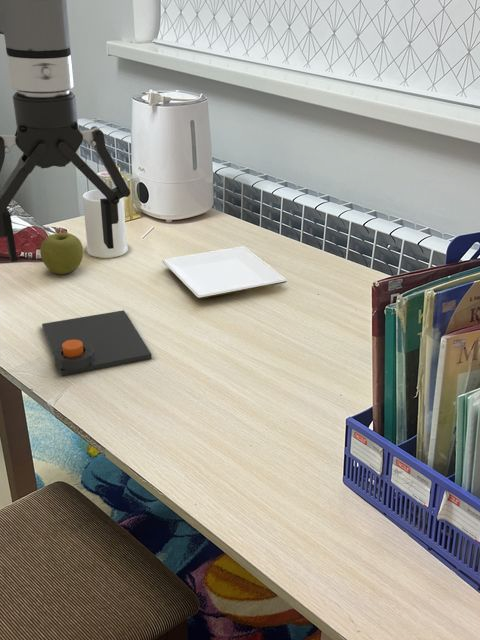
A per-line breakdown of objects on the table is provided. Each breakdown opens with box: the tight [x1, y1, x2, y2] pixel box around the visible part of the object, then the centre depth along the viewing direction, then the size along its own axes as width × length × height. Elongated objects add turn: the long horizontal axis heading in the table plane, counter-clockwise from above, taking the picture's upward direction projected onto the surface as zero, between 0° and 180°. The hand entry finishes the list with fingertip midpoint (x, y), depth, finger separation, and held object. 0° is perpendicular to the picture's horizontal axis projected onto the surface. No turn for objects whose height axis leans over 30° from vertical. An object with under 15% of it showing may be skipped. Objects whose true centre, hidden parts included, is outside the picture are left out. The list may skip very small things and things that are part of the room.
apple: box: [39, 232, 84, 275], centre depth 134 cm, size 8×8×7 cm
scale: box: [41, 309, 152, 377], centre depth 112 cm, size 16×14×2 cm
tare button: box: [62, 340, 83, 357], centre depth 105 cm, size 3×3×2 cm
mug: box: [82, 188, 129, 259], centre depth 144 cm, size 12×8×12 cm
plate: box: [161, 245, 288, 300], centre depth 135 cm, size 19×19×2 cm
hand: (62, 251), depth 97 cm, fingers open, 12 cm apart
